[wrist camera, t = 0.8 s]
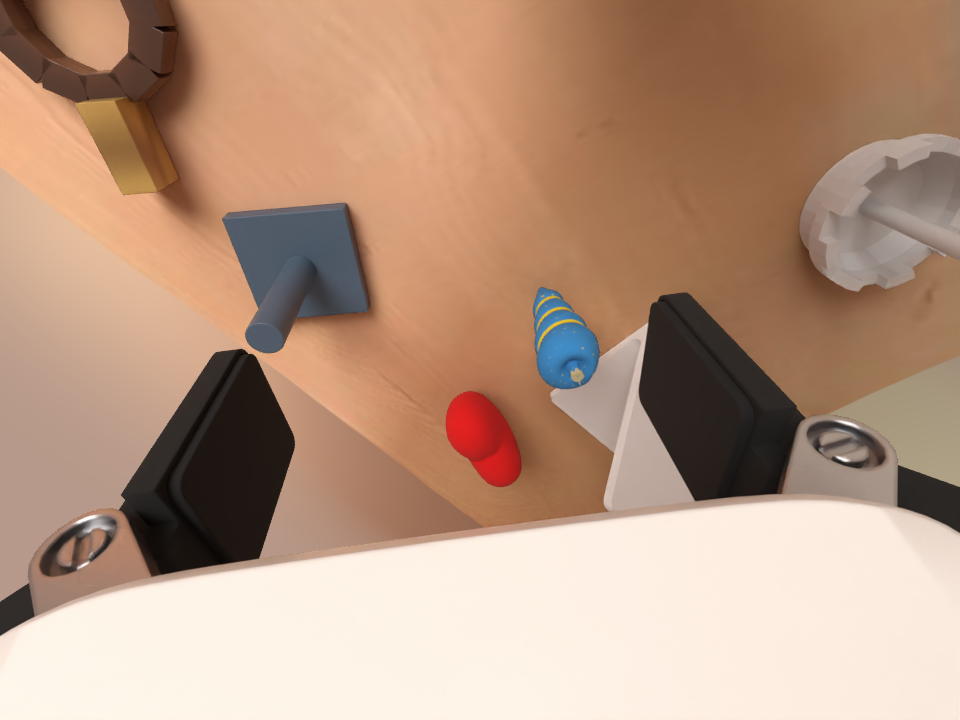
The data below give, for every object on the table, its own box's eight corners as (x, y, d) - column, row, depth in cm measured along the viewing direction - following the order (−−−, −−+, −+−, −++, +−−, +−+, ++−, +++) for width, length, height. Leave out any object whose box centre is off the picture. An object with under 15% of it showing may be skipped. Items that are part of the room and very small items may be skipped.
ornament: (521, 316, 47) (552, 418, 36) (510, 273, 44) (538, 369, 32) (570, 302, 47) (617, 400, 35) (562, 257, 44) (610, 349, 32)
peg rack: (227, 212, 39) (157, 281, 29) (346, 202, 39) (317, 266, 29) (267, 313, 45) (221, 398, 35) (370, 304, 45) (352, 386, 35)
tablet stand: (653, 482, 66) (709, 602, 53) (546, 394, 54) (584, 521, 41) (772, 414, 60) (872, 532, 46) (681, 297, 48) (780, 410, 34)
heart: (522, 419, 57) (536, 485, 49) (484, 436, 58) (492, 504, 50) (474, 355, 50) (481, 420, 42) (432, 377, 51) (432, 444, 43)
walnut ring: (-69, -106, 27) (-129, -120, 24) (124, -118, 27) (87, -133, 24) (93, 185, 37) (64, 200, 34) (232, 174, 37) (215, 187, 34)
